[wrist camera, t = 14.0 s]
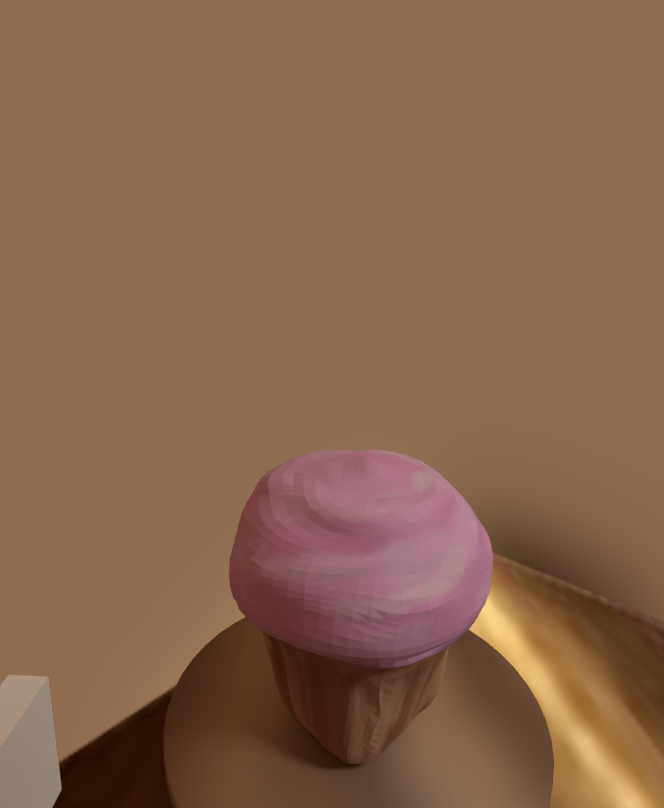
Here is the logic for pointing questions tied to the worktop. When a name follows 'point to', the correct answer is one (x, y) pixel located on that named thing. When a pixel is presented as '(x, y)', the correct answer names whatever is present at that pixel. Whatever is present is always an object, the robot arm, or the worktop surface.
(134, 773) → the worktop surface
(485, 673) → the cake stand
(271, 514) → the cupcake
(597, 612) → the worktop surface
